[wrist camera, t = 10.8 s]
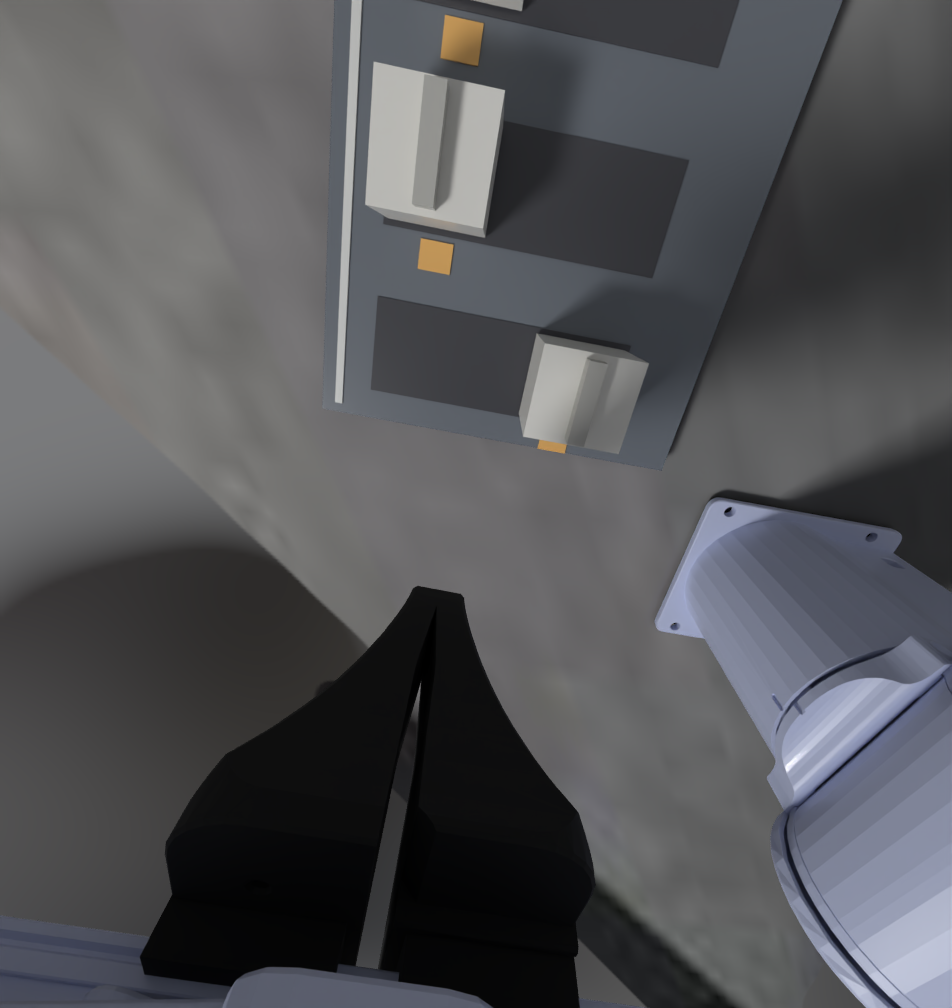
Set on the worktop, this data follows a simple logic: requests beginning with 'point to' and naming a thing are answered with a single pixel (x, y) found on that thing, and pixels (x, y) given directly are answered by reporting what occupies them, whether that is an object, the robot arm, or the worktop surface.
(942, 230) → the worktop surface
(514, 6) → the tab
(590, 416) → the light grey block
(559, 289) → the switch bank
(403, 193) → the tab
